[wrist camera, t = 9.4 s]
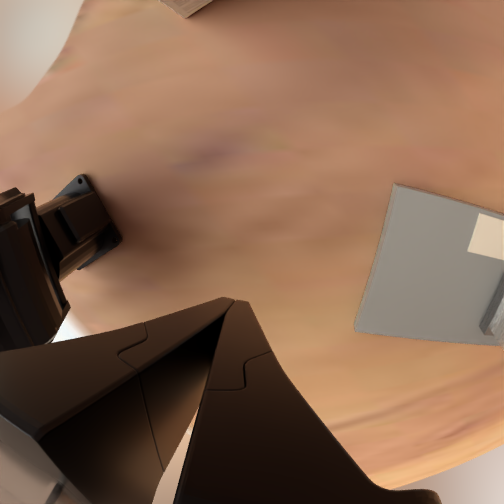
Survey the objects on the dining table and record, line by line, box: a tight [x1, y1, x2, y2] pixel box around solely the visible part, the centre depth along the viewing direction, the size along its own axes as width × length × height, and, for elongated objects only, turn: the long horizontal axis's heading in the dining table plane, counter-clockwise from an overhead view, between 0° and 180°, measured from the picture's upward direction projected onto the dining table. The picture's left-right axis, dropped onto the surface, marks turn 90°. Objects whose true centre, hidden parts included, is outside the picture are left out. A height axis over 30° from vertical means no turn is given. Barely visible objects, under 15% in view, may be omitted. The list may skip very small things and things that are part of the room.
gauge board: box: [354, 183, 504, 346], centre depth 18 cm, size 19×11×4 cm, turn 84°
